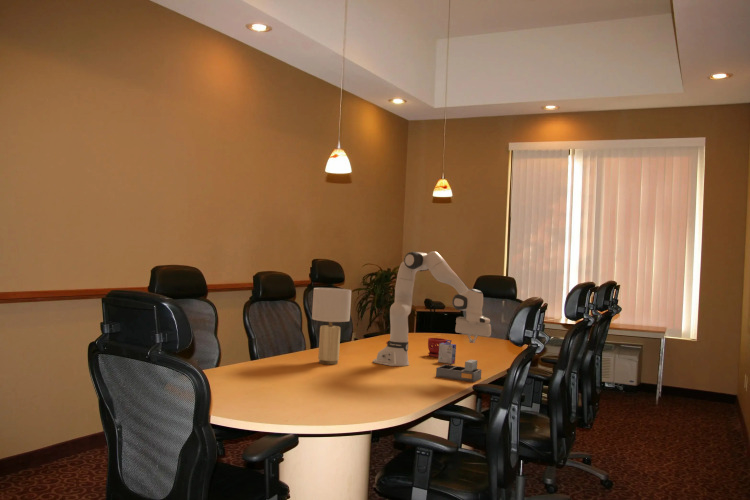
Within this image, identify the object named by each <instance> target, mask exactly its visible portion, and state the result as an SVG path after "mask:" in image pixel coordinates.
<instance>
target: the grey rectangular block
mask: <svg viewBox="0 0 750 500" xmlns="http://www.w3.org/2000/svg"><path fill="white" fill-rule="evenodd" d="M464 367H465V372H471V373H473V372H475V371H477V369H478V360H477V359H468V360H466V361H465V362H464Z"/></svg>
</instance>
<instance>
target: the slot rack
mask: <svg viewBox="0 0 750 500" xmlns="http://www.w3.org/2000/svg"><path fill="white" fill-rule="evenodd" d="M435 372H436V373H435V378H442V379H450V380H456V381H462V382H470V383H475V382H477V381H478V380H481V379H482V369H479V368H477V371H475V372H473V373H471V372H465V366H457V365H453V364H447V363H444V364H442V365H440V366H438V367H436V370H435Z"/></svg>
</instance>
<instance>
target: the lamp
mask: <svg viewBox="0 0 750 500" xmlns="http://www.w3.org/2000/svg"><path fill="white" fill-rule="evenodd" d="M312 293H313V294H312V295H313V296H312V310H311V313H312V314H311V319H312V320H314V321H319V322H326V323H328V324H327V325H324V324H323V325H320V327H319V340H318V341H319V343H318V358H317V360H318V363H319V364H321V365H326V366H335V365H338V362H339V360H340V359H339V358H340V344H341V343H340V342H341V329H342V328H341V326H339V325H333V323H342V322H343V323H345V322H350V319H351V306H352V305H351V304H352V289H349V288H348V289H346V288H338V287H337V288H336V287H313V292H312Z"/></svg>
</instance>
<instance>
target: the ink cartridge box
mask: <svg viewBox="0 0 750 500" xmlns="http://www.w3.org/2000/svg"><path fill="white" fill-rule="evenodd" d="M447 341H448V342H447ZM456 354H457V344H454V343H452V339H451V340H450V339H446V343H440V344H439V357H437V359H438V360H437V362H438V363H444V364H447V365H453V364H454V365H455V364H456V356H457V355H456Z"/></svg>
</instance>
